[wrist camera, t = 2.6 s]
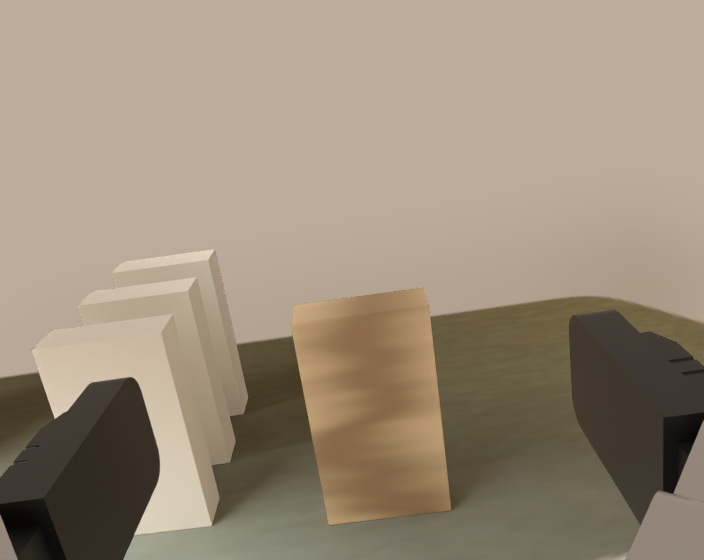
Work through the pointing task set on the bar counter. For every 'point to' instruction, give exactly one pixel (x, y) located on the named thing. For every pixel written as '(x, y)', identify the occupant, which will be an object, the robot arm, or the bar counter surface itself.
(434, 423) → the oak domino
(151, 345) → the ivory domino
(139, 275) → the ivory domino
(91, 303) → the ivory domino
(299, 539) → the bar counter surface
